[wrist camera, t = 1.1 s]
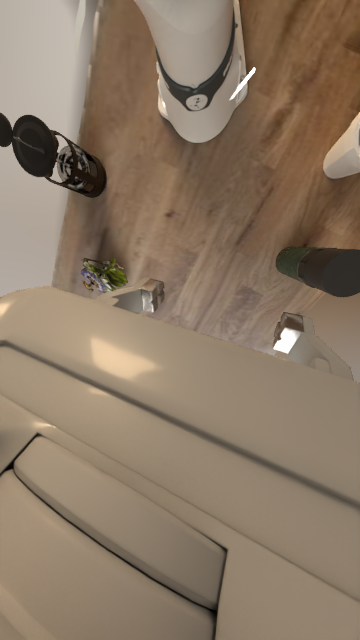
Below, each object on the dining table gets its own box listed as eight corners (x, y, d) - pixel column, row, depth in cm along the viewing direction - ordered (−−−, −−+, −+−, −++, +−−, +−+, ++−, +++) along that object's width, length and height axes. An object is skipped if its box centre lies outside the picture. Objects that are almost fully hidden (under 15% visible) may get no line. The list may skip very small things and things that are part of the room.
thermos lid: (301, 249, 35) (327, 251, 26) (342, 247, 33) (383, 248, 25) (295, 285, 37) (317, 297, 29) (334, 284, 36) (368, 296, 27)
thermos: (277, 247, 48) (305, 249, 33) (307, 245, 47) (351, 246, 31) (274, 274, 51) (298, 288, 35) (302, 274, 49) (341, 287, 34)
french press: (113, 169, 49) (34, 111, 28) (101, 206, 52) (23, 180, 31) (74, 142, 48) (-38, 64, 27) (64, 182, 52) (-41, 139, 31)
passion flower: (112, 278, 65) (73, 278, 57) (119, 249, 59) (77, 244, 51) (126, 299, 60) (86, 302, 52) (136, 269, 54) (92, 267, 46)
